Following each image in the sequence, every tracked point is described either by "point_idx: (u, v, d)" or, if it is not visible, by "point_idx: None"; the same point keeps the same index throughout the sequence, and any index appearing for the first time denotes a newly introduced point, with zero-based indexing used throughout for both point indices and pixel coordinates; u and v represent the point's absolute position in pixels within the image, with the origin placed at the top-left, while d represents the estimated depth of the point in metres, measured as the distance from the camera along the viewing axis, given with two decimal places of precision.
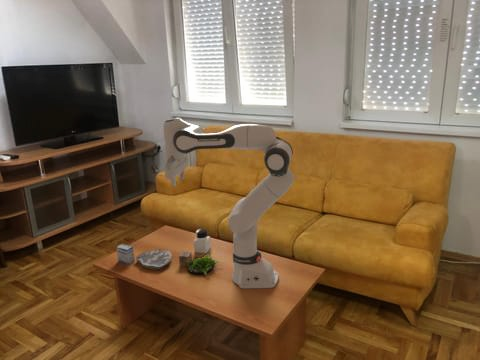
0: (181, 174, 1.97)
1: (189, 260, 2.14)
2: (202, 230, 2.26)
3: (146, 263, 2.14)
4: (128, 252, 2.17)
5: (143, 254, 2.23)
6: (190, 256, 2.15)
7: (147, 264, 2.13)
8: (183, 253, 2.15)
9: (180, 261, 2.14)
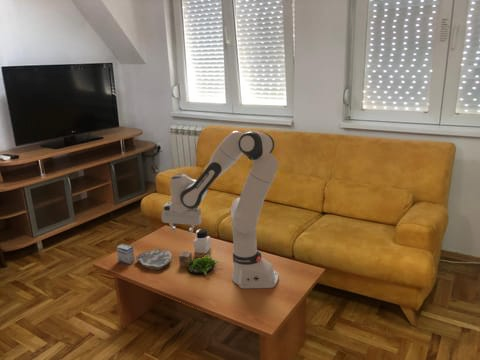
0: (172, 226, 2.11)
1: (189, 260, 2.14)
2: (202, 230, 2.26)
3: (146, 263, 2.14)
4: (128, 252, 2.17)
5: (143, 254, 2.23)
6: (190, 256, 2.15)
7: (147, 264, 2.13)
8: (183, 253, 2.15)
9: (180, 261, 2.14)
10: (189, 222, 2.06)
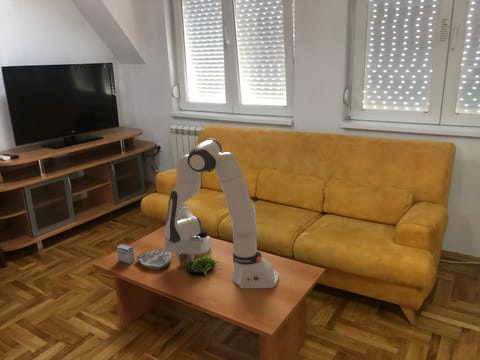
0: (178, 255, 2.16)
1: (189, 260, 2.14)
2: (202, 230, 2.26)
3: (146, 263, 2.14)
4: (128, 252, 2.17)
5: (143, 254, 2.23)
6: None
7: (147, 264, 2.13)
8: (183, 253, 2.15)
9: (180, 261, 2.14)
10: (192, 251, 2.11)
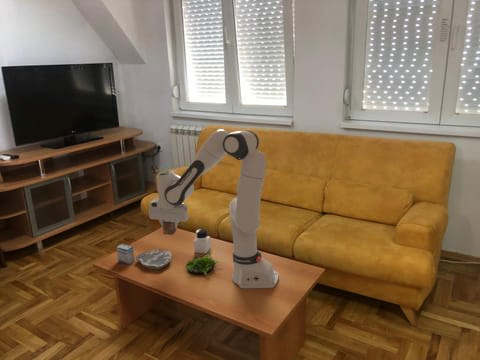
0: (162, 223, 2.12)
1: (173, 228, 2.11)
2: (202, 230, 2.26)
3: (146, 263, 2.14)
4: (128, 252, 2.17)
5: (143, 254, 2.23)
6: None
7: (147, 264, 2.13)
8: (167, 221, 2.12)
9: (164, 228, 2.10)
10: (176, 219, 2.08)
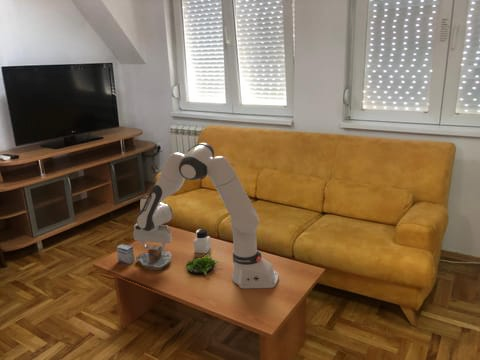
0: (144, 244, 2.18)
1: (158, 253, 2.17)
2: (202, 230, 2.26)
3: (146, 263, 2.14)
4: (128, 252, 2.17)
5: (143, 254, 2.23)
6: (159, 249, 2.18)
7: (147, 264, 2.13)
8: (152, 246, 2.18)
9: (149, 254, 2.17)
10: (160, 240, 2.13)
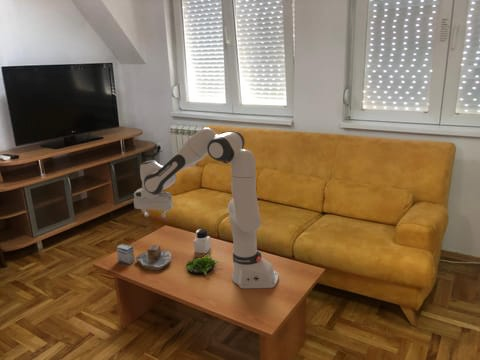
0: (145, 212, 2.15)
1: (158, 253, 2.17)
2: (202, 230, 2.26)
3: (146, 263, 2.14)
4: (128, 252, 2.17)
5: (143, 254, 2.23)
6: (159, 249, 2.18)
7: (147, 264, 2.13)
8: (152, 246, 2.18)
9: (149, 254, 2.16)
10: (161, 207, 2.10)
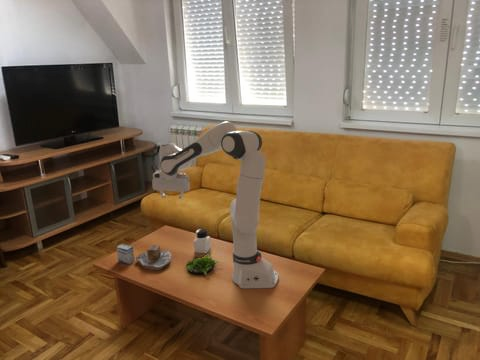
0: (163, 193, 2.22)
1: (157, 253, 2.17)
2: (202, 230, 2.26)
3: (146, 263, 2.14)
4: (128, 252, 2.17)
5: (143, 254, 2.23)
6: (158, 250, 2.18)
7: (147, 264, 2.13)
8: (151, 247, 2.18)
9: (148, 255, 2.16)
10: (178, 189, 2.17)
